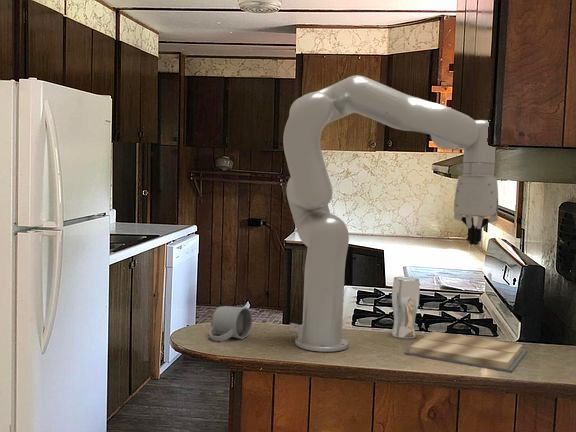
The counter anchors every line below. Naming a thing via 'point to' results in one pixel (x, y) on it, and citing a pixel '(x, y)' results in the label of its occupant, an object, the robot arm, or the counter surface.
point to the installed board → (463, 353)
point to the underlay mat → (476, 364)
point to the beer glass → (405, 306)
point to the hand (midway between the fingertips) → (474, 244)
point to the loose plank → (475, 342)
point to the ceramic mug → (230, 323)
